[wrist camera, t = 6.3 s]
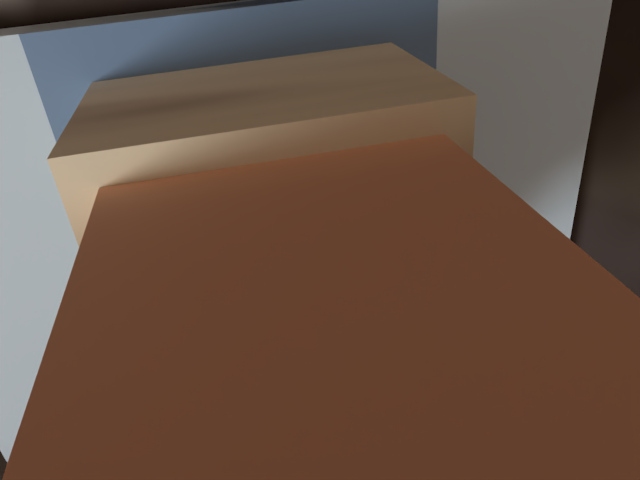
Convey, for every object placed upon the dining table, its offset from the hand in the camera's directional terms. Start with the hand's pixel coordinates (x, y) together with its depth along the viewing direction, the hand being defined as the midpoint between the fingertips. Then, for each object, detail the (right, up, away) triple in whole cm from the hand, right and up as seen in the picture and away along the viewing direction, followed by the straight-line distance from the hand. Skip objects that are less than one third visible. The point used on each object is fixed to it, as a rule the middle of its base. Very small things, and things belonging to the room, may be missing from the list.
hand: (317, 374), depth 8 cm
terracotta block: (0, +1, +2) cm, 2 cm away
